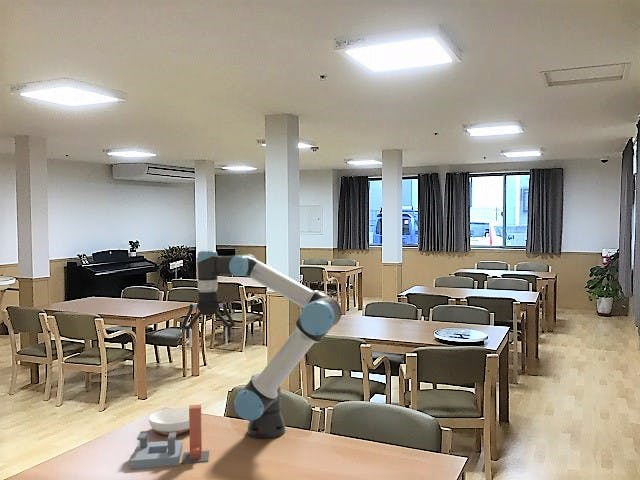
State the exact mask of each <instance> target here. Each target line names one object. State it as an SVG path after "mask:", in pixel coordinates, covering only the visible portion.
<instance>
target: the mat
mask: <svg viewBox="0 0 640 480" xmlns="http://www.w3.org/2000/svg"><path fill="white" fill-rule="evenodd" d="M209 458H210V450H202V458H197V459H190V451H187V452H186V451H185V452H183V456H182V460H181V464H183V465H184V464H194V463H206V462H209Z"/></svg>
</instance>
